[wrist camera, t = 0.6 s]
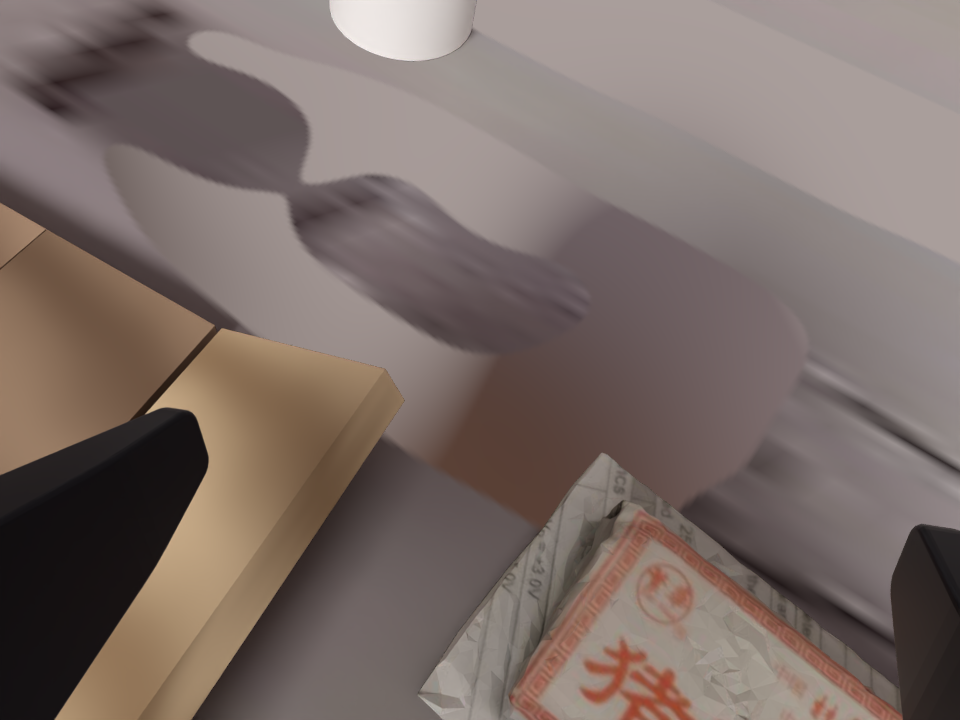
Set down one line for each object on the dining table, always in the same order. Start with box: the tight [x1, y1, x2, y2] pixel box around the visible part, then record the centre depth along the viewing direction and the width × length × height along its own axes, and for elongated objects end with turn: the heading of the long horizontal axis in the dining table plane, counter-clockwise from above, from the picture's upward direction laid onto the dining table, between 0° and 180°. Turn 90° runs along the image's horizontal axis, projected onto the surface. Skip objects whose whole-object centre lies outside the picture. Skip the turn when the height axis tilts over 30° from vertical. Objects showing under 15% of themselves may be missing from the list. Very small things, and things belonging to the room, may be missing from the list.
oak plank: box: [55, 328, 405, 720], centre depth 18 cm, size 20×7×2 cm
